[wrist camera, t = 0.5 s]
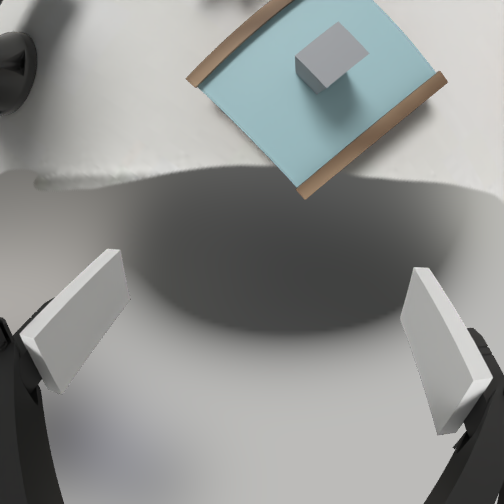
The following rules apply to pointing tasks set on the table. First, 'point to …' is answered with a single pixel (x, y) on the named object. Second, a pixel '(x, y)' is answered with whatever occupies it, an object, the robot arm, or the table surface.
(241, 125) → the cover plate
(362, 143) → the walnut box
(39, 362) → the robot arm
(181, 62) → the table surface
